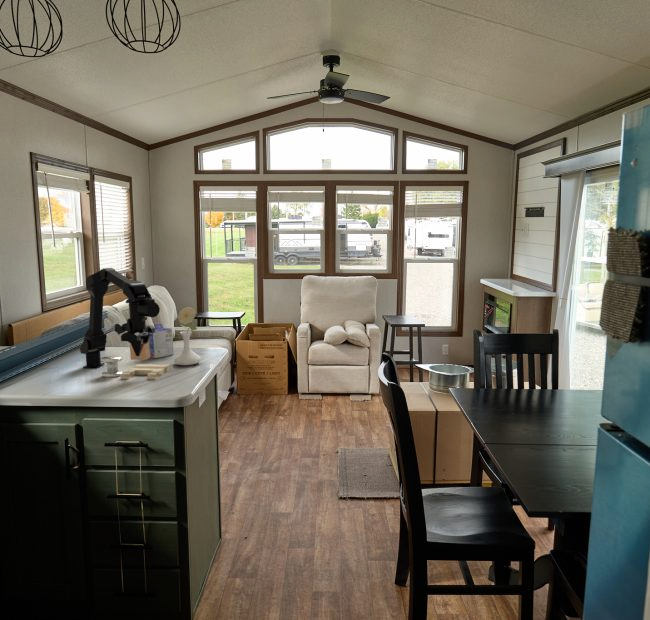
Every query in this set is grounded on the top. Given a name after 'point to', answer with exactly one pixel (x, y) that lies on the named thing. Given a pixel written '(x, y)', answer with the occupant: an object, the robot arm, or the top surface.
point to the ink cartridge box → (161, 342)
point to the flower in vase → (187, 338)
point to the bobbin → (112, 366)
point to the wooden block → (141, 352)
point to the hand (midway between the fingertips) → (139, 354)
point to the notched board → (146, 370)
